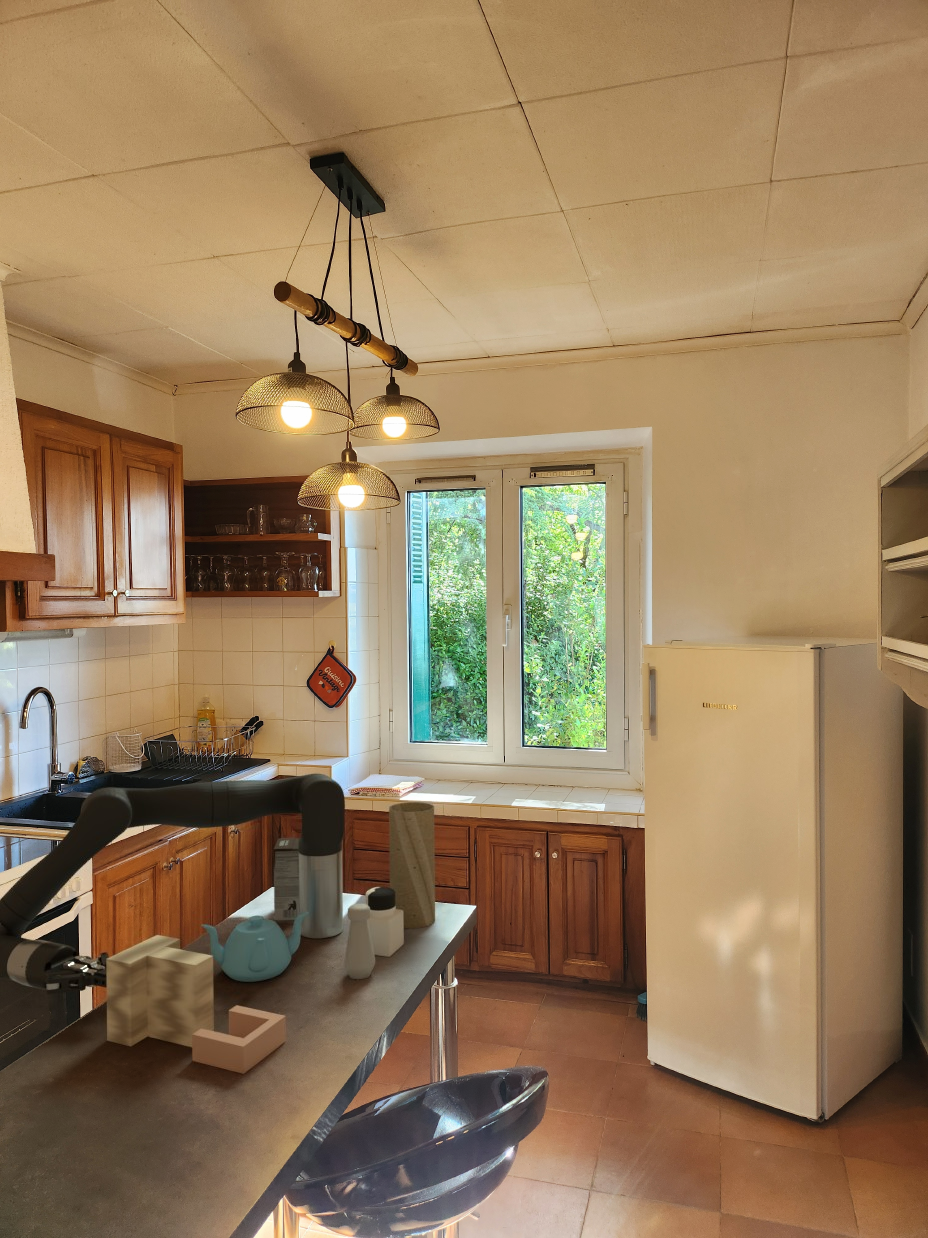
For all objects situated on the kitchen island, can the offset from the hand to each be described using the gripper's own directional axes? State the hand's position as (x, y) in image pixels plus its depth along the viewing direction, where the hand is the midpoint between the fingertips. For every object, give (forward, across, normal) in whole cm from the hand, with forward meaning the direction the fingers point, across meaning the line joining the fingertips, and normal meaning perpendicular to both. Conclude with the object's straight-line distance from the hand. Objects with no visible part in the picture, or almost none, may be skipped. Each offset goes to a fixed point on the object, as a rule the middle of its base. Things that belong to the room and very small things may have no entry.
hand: (116, 981), depth 141 cm
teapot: (+10, +25, +7) cm, 27 cm away
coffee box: (-4, +54, +7) cm, 55 cm away
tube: (+24, +61, +7) cm, 66 cm away
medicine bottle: (+26, +44, +7) cm, 51 cm away
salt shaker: (+28, +31, +7) cm, 43 cm away
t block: (+11, 0, +7) cm, 13 cm away
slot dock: (+25, 0, +7) cm, 25 cm away
